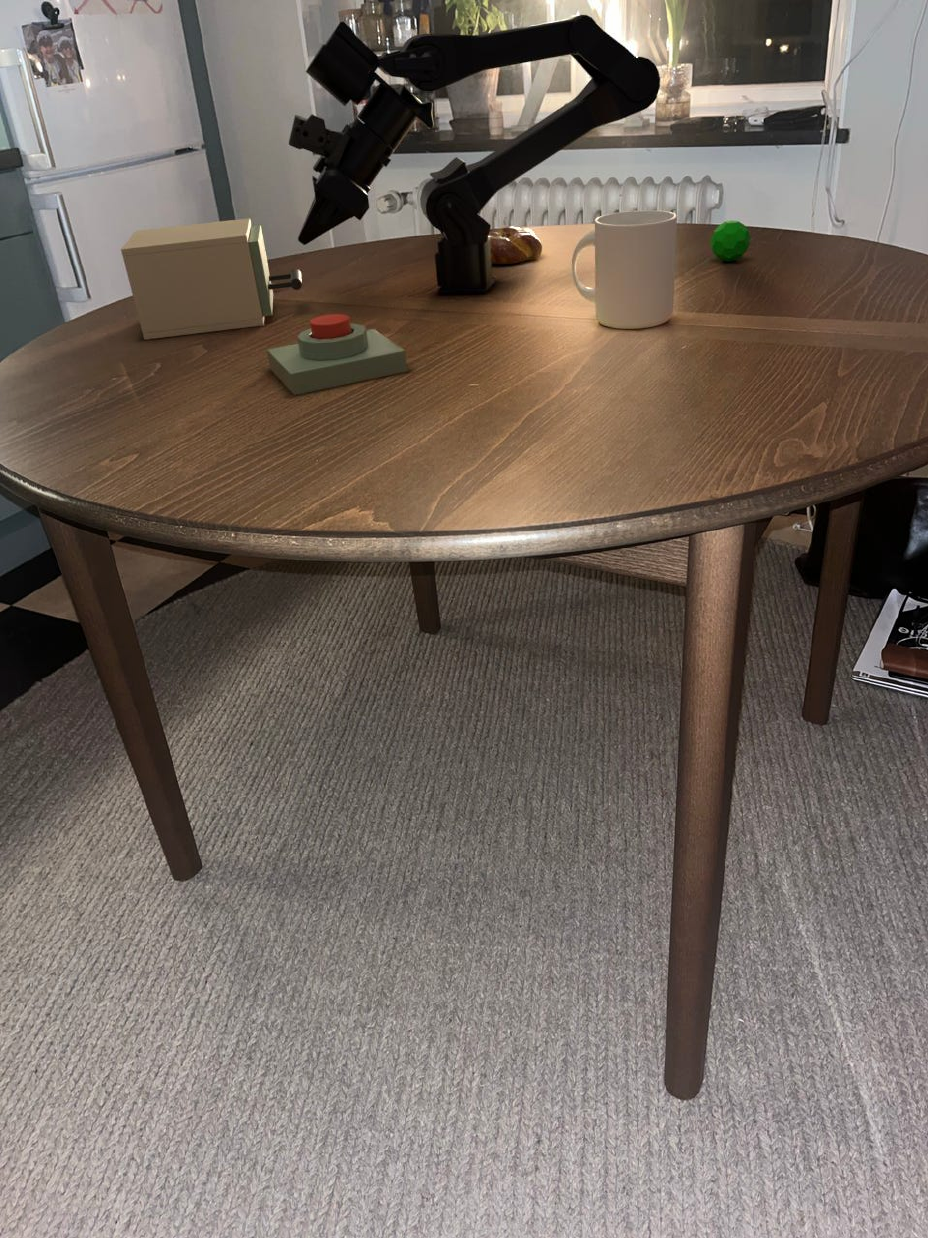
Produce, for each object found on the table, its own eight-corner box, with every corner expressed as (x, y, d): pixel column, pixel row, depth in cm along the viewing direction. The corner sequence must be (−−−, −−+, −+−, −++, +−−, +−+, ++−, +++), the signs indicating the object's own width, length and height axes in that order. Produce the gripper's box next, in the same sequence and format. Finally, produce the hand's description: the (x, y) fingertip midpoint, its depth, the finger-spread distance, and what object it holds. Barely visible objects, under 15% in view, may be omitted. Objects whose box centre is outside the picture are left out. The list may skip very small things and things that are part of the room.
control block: (376, 348, 104) (371, 311, 102) (407, 371, 96) (403, 332, 94) (270, 369, 100) (263, 332, 98) (294, 395, 92) (286, 355, 90)
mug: (591, 304, 112) (590, 208, 107) (685, 312, 106) (690, 210, 100) (555, 323, 107) (552, 222, 101) (652, 333, 100) (655, 226, 95)
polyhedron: (748, 255, 127) (751, 217, 125) (747, 263, 123) (750, 224, 121) (711, 256, 129) (713, 218, 126) (708, 264, 125) (710, 226, 122)
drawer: (304, 291, 127) (293, 221, 122) (306, 311, 117) (293, 236, 112) (171, 306, 125) (154, 236, 120) (162, 329, 115) (143, 253, 111)
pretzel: (470, 251, 144) (468, 226, 142) (541, 246, 143) (541, 220, 141) (466, 269, 134) (464, 241, 132) (542, 263, 133) (541, 236, 131)
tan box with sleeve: (265, 301, 127) (250, 217, 121) (263, 325, 116) (246, 234, 111) (156, 314, 126) (135, 230, 120) (144, 339, 115) (120, 249, 109)
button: (345, 328, 98) (342, 311, 98) (356, 337, 95) (354, 319, 94) (308, 335, 97) (305, 318, 96) (318, 344, 94) (316, 326, 93)
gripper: (318, 82, 117) (248, 188, 122) (323, 88, 102) (242, 210, 107) (388, 144, 122) (318, 244, 127) (403, 160, 107) (323, 273, 112)
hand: (300, 242), depth 118 cm, fingers closed
